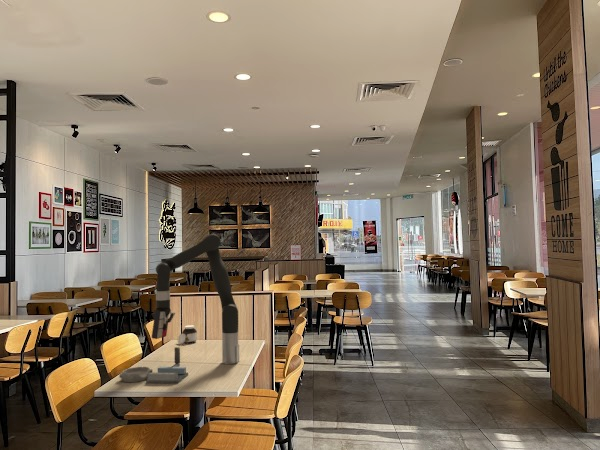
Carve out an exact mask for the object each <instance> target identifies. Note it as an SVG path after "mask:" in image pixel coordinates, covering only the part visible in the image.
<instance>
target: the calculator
mask: <svg viewBox="0 0 600 450" xmlns="http://www.w3.org/2000/svg"><path fill="white" fill-rule="evenodd" d="M153 313H154V316H153V317H152V318H153V325H152V331H151V332H152V333H151V339H155V340H157V339H161V338H165V337H167V336H168V335H167V334H168V327H169V323H168V324H167V329H166V331H164V319H163V313H164V311H161V310H156V309H155V310H154V311H153ZM169 317H170V314H169V315H168V319H169Z"/></svg>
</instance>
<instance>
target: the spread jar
mask: <svg viewBox="0 0 600 450" xmlns="http://www.w3.org/2000/svg"><path fill="white" fill-rule="evenodd" d="M197 340H198V331H197V330H196V328H195V325H192V324H191V325H190V324H189V325H184V329H183V330H182V332H181V333H180V334H179V335H178V337H177V343H178V344H179V345H183V344H189V345H191V344H195V343H196V342H197Z"/></svg>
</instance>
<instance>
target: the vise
mask: <svg viewBox="0 0 600 450" xmlns="http://www.w3.org/2000/svg"><path fill="white" fill-rule="evenodd" d="M188 376H189V372H186V373H184V374H178V373H158V372H152V373H149V374H148V379H146V380H145V384H165V385H167V384H172V385H174V384H175V385H176V384H177V385H178V384H180V383H181V382H182V381H183V380H184V379H185V378H187V377H188Z"/></svg>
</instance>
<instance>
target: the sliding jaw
mask: <svg viewBox="0 0 600 450" xmlns="http://www.w3.org/2000/svg"><path fill="white" fill-rule="evenodd" d="M157 373H178V374H184V373H187V367H186V366H181V347H180V346H176V347H174V364H173V365H172V366H159V367H157Z"/></svg>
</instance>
